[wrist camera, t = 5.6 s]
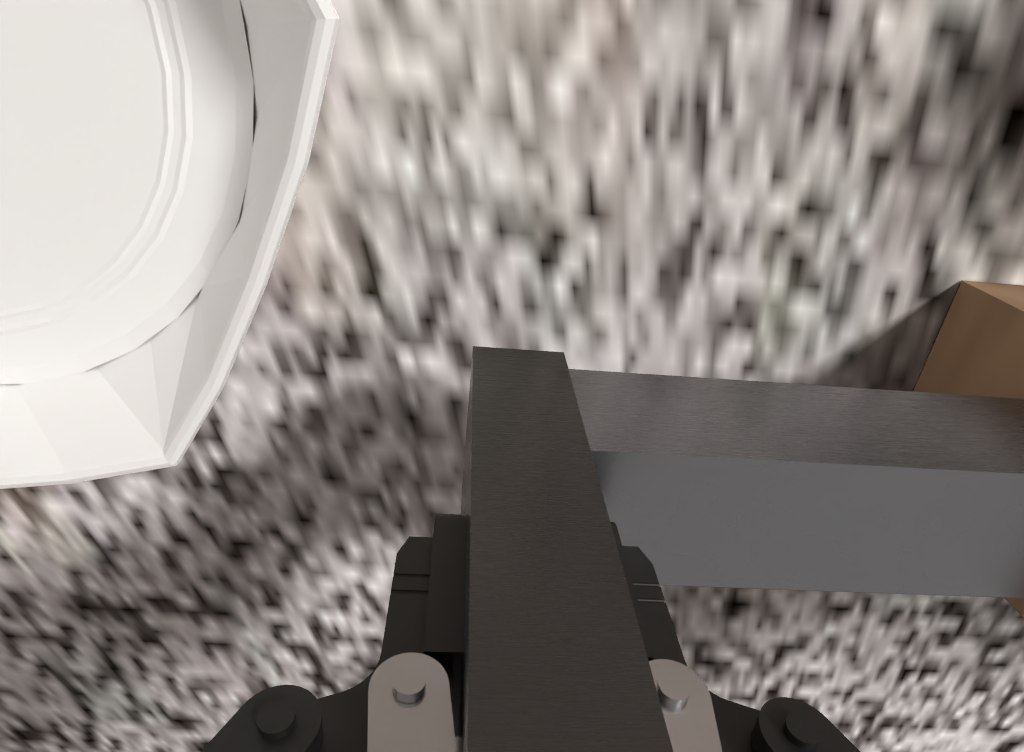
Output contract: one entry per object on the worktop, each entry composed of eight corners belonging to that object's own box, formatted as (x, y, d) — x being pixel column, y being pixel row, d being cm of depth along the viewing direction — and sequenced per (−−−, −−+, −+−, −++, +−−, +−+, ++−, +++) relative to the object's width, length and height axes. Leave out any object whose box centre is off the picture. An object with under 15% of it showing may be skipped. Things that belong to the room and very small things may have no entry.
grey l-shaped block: (1178, 393, 19) (2036, 828, 9) (1093, 523, 22) (1688, 991, 11) (473, 346, 17) (466, 824, 7) (461, 493, 20) (443, 1020, 9)
